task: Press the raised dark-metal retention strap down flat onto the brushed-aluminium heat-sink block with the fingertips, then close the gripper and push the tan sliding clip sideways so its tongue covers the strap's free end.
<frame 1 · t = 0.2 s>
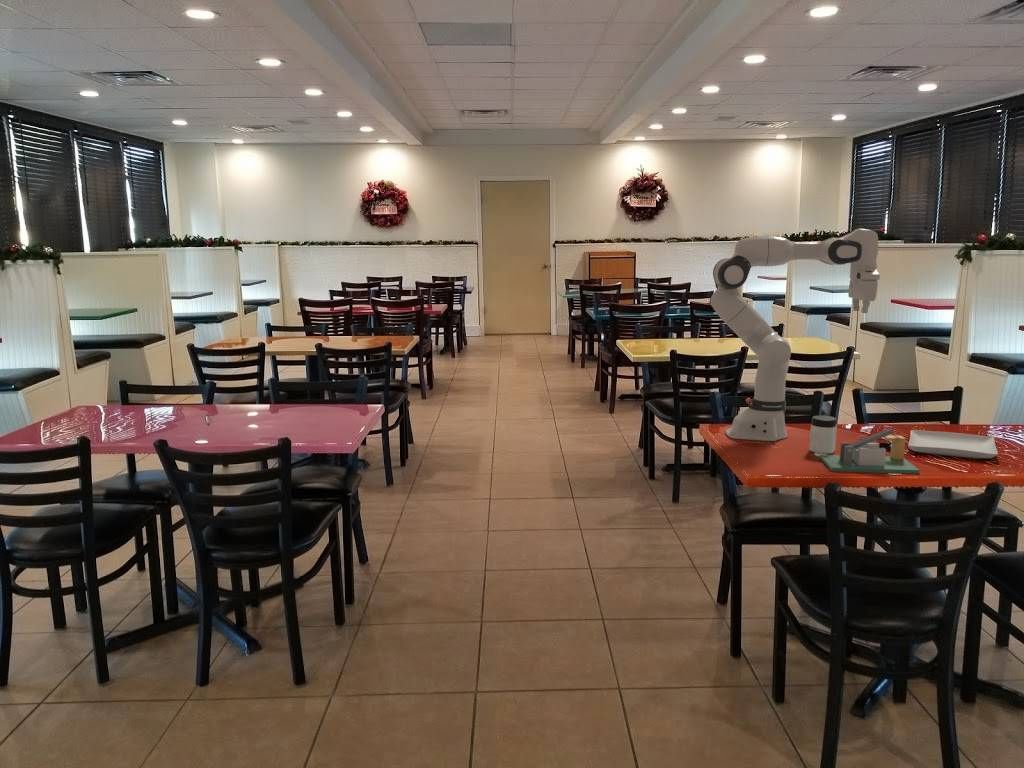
hand: (860, 311, 292), 48 cm above the table, fingers open, 8 cm apart
board: (867, 465, 264), on the table
square plate: (950, 450, 284), on the table
jar: (822, 451, 283), on the table
clip: (893, 447, 268), point 5 cm above the table, slide at 0.0 cm
strap: (867, 440, 262), point 9 cm above the table, hinge at 25.0°
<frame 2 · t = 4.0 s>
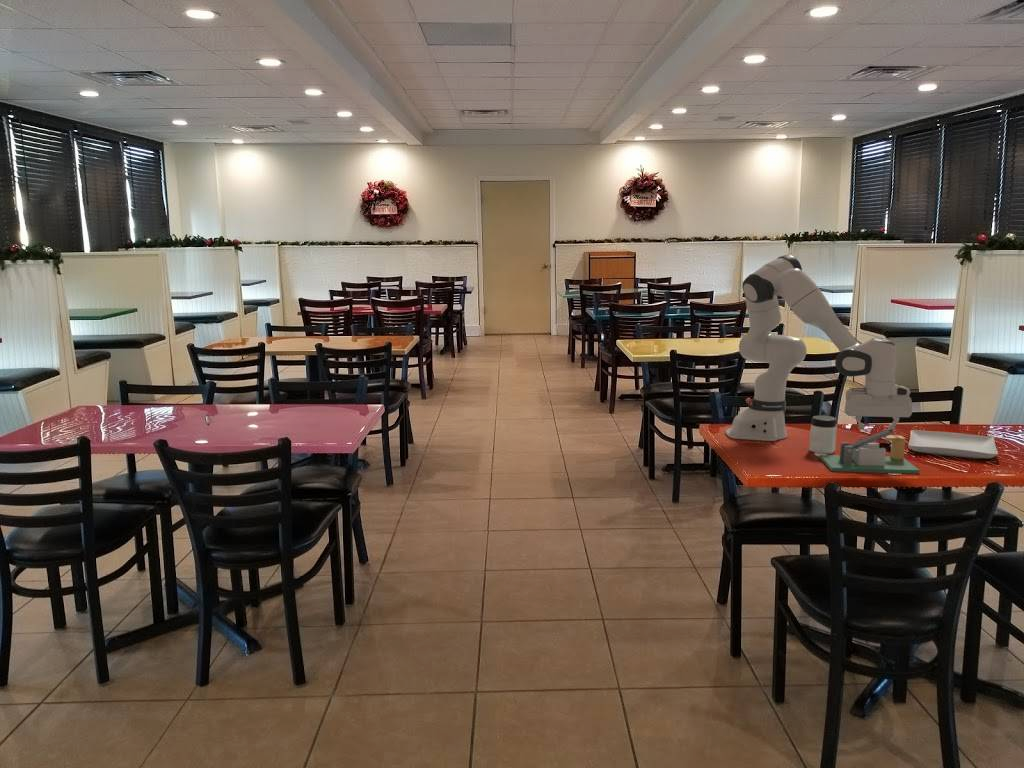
hand: (876, 429, 261), 12 cm above the table, fingers open, 8 cm apart
strap: (867, 440, 262), point 9 cm above the table, hinge at 24.6°, touching gripper
everything else where it was.
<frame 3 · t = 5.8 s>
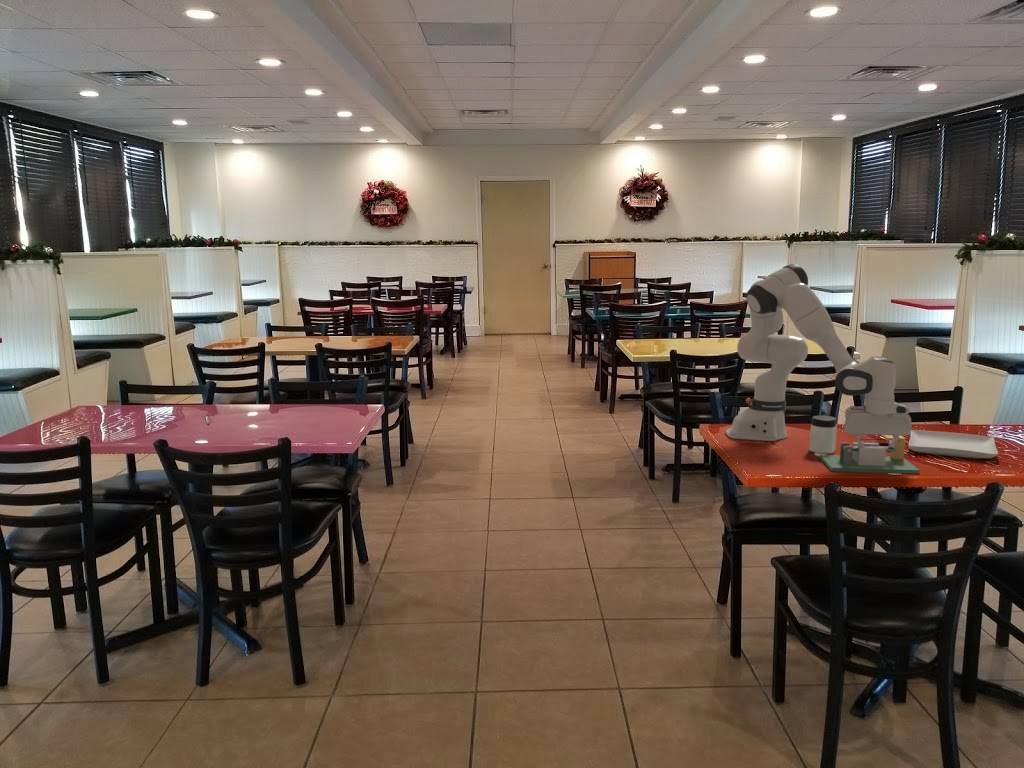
hand: (876, 447, 262), 6 cm above the table
strap: (868, 448, 263), point 6 cm above the table, hinge at 0.7°, touching gripper
everything else where it was.
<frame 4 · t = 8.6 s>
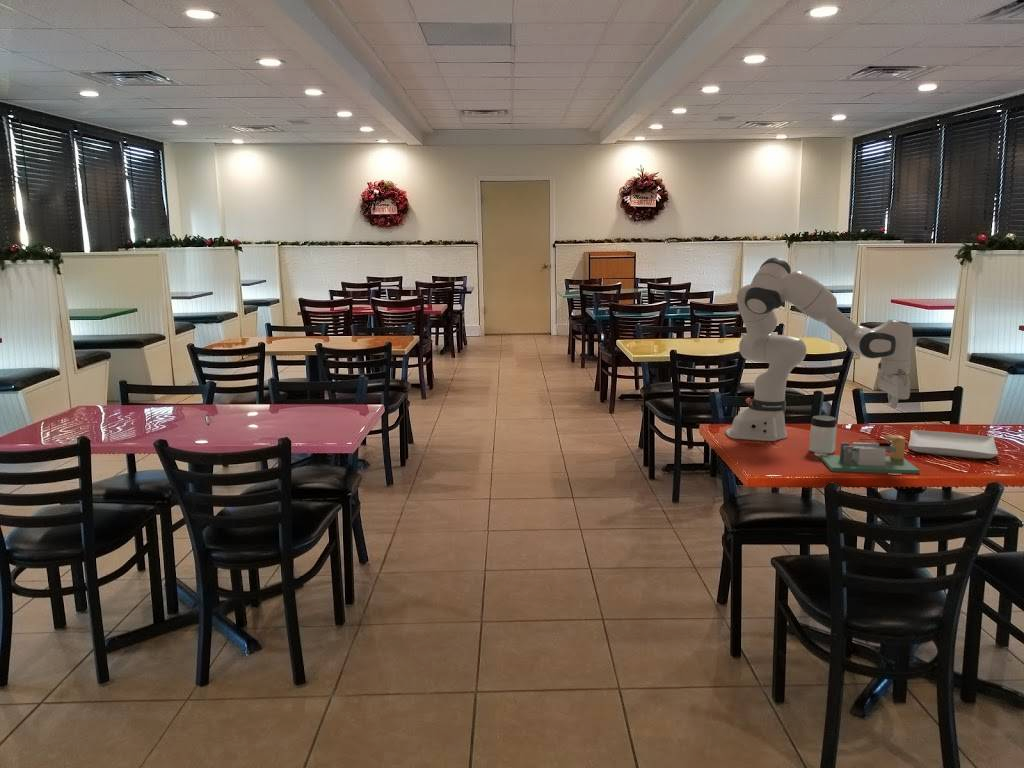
hand: (892, 407, 273), 17 cm above the table, fingers closed
strap: (868, 448, 263), point 6 cm above the table, hinge at 0.6°
everything else where it was.
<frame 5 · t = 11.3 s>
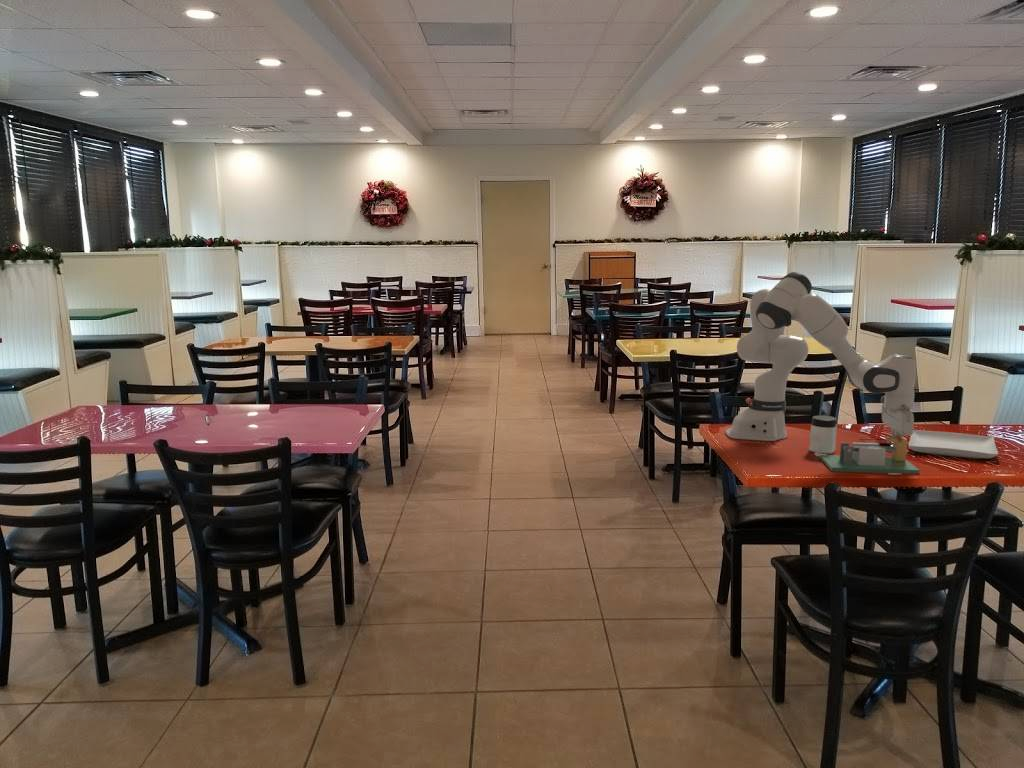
hand: (895, 442, 269), 6 cm above the table, fingers closed
clip: (895, 448, 266), point 5 cm above the table, slide at 1.6 cm, touching gripper
everything else where it was.
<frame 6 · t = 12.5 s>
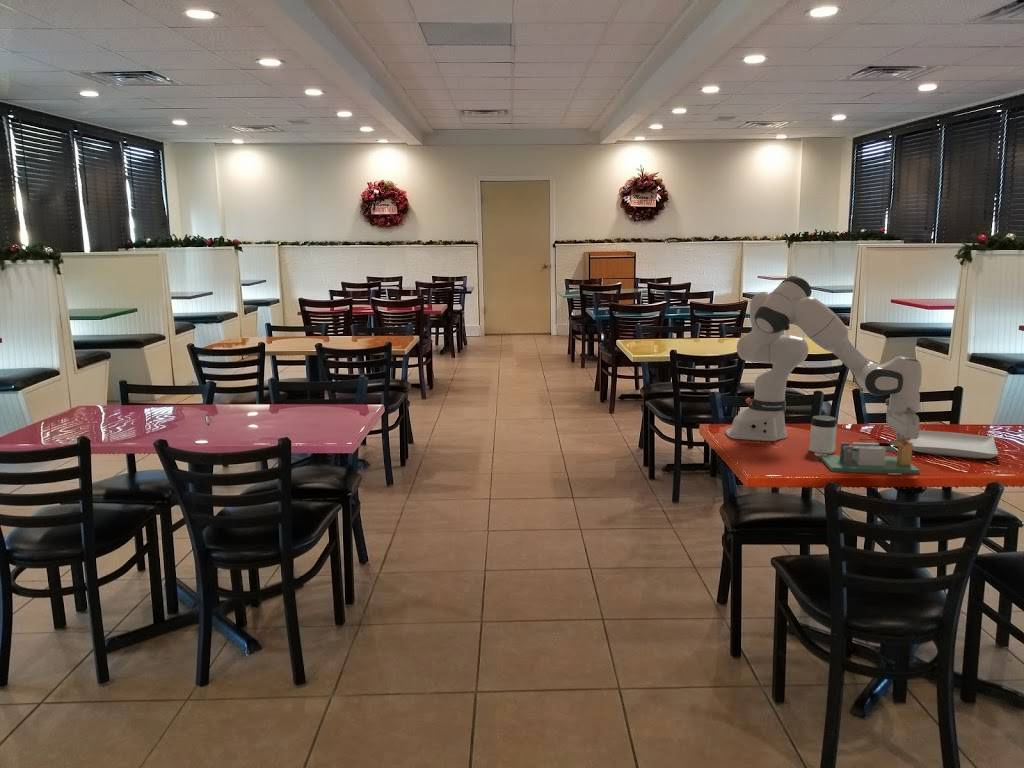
hand: (900, 445, 265), 6 cm above the table, fingers closed
clip: (900, 452, 261), point 5 cm above the table, slide at 6.4 cm, touching gripper
everything else where it was.
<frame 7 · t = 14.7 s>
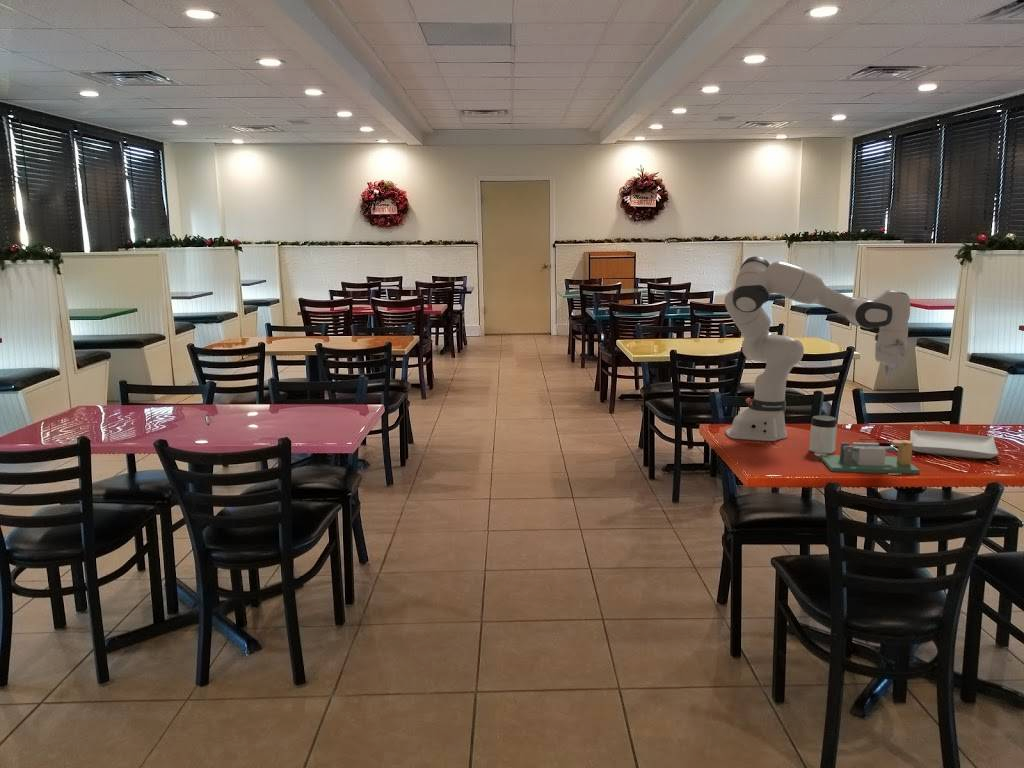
hand: (889, 378, 272), 27 cm above the table, fingers closed
clip: (900, 452, 261), point 5 cm above the table, slide at 6.4 cm
everything else where it was.
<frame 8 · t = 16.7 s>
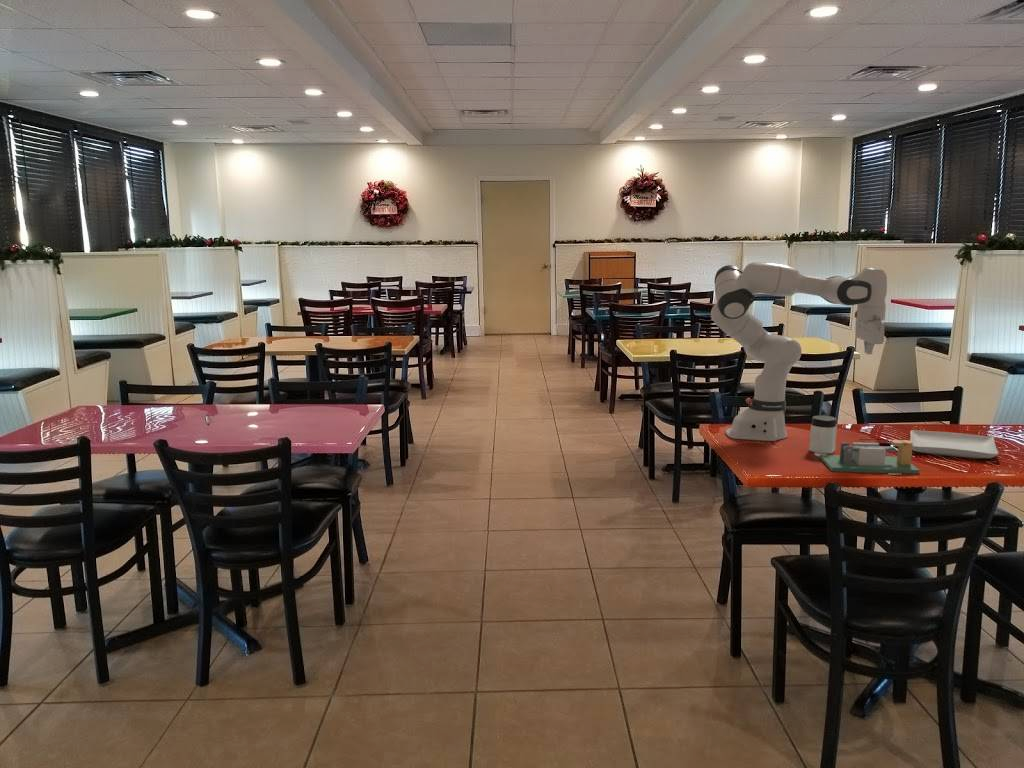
hand: (868, 353, 281), 34 cm above the table, fingers closed
nothing on the table moved.
at the end: strap at +1° (first picture: +25°); clip slide at 6.4 cm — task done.
